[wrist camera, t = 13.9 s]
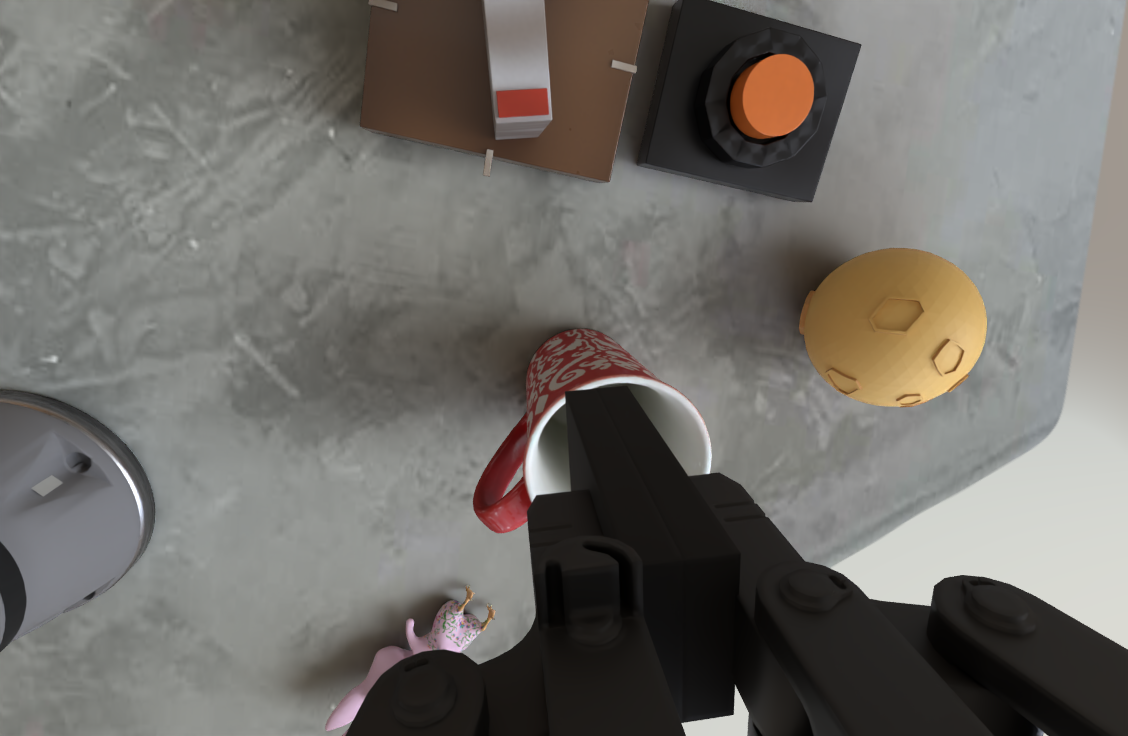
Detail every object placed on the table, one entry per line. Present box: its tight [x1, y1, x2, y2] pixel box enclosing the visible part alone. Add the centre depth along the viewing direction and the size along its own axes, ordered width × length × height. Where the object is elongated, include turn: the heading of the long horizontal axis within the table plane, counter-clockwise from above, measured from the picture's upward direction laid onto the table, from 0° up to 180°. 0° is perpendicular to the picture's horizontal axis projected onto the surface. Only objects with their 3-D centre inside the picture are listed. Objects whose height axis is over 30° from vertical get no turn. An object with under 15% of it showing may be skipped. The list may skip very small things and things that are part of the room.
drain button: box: [730, 54, 814, 139], centre depth 31 cm, size 4×4×2 cm
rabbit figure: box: [325, 585, 496, 736], centre depth 42 cm, size 6×6×15 cm
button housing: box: [637, 0, 861, 202], centre depth 33 cm, size 11×9×4 cm
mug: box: [473, 329, 712, 533], centre depth 33 cm, size 13×9×14 cm
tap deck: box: [360, 0, 649, 183], centre depth 31 cm, size 14×14×3 cm
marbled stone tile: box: [482, 0, 552, 140], centre depth 26 cm, size 10×2×8 cm, turn 4°
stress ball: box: [799, 248, 987, 407], centre depth 35 cm, size 10×10×10 cm
